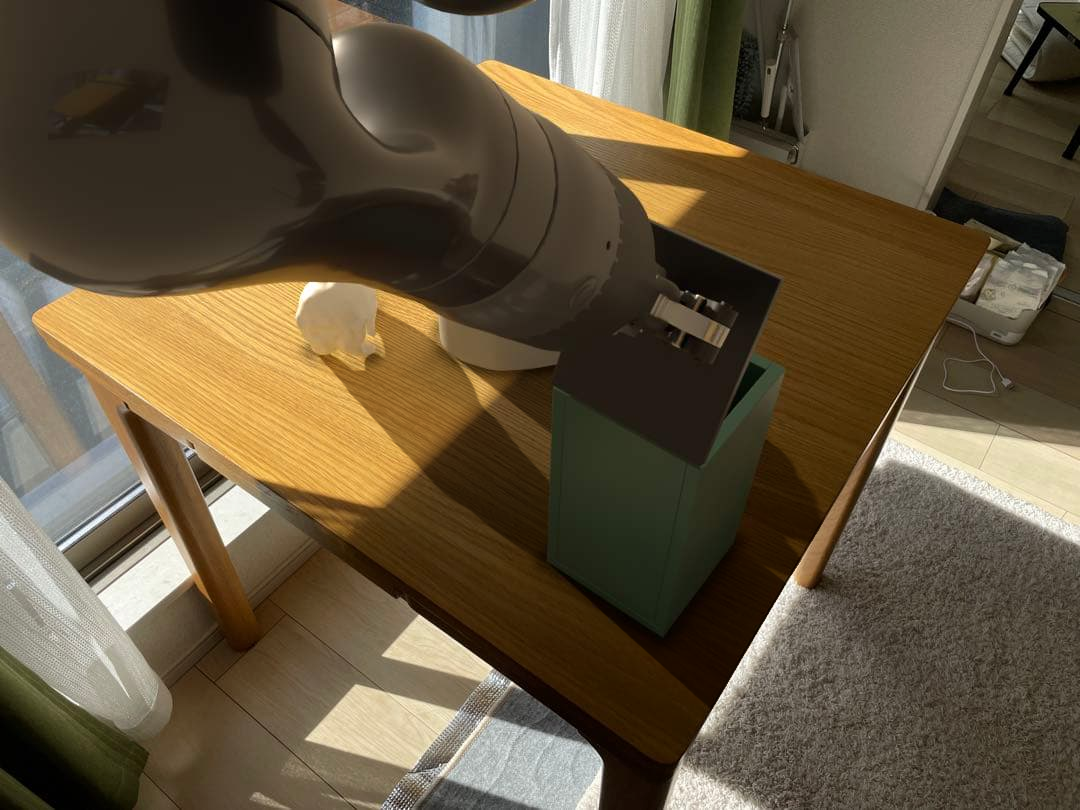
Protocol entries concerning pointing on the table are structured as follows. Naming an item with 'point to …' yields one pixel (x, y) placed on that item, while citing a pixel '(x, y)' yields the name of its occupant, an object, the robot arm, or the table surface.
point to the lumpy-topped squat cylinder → (491, 349)
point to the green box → (651, 500)
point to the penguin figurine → (337, 317)
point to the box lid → (676, 353)
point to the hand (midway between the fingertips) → (662, 313)
